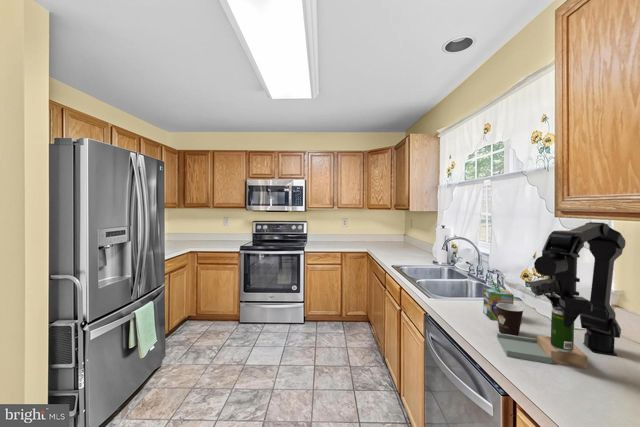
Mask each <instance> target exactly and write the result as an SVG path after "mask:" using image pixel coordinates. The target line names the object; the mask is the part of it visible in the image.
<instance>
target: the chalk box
mask: <svg viewBox="0 0 640 427" xmlns="http://www.w3.org/2000/svg"><path fill="white" fill-rule="evenodd" d="M493 286H494V287H493V288H492V287H491V288H490V287H488V288H487V287H484V288H483V308H482V309H483V310H482V311H483V312H482V313H484V315H486V317H487V318H488V319H489V320H492V321H498V319H497V318H496V316H495V315H494V313H493V311H492V305H496V304H499V303H506V304H512V305H514V302H515V300H514V298H515V297H514V294H513V293H511V292H510V291H509V290H507V289H505V288H500V285H499V284H498V283H497V282H495V281H494V282H493ZM493 310H494V312H495V314H496V315H497V307H496V306H494V308H493Z"/></svg>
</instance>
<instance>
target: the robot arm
mask: <svg viewBox="0 0 640 427" xmlns="http://www.w3.org/2000/svg"><path fill="white" fill-rule="evenodd" d="M585 243H587V244H588V245H589V246H588V248H589V252H590V254H591V255H592V257H593V258H594V263H593V272H592V280H591V289H590V290H591V291H590V297H589V298H590V299H586V298H585V297H584V296H580V292H579V291H578V290H577V283H581V280H580V279H581V278H580V277H577V276H578V275H577V274H578V273H577V272H578V270H577V269H578V258H580V257H581V256H580V254H579V253H580V252H581V250H582V249H583V248H584V247H585ZM625 247H626V239H625V237H624V236H623V235H622V233H621V232H619V231H617V230H615V229H614V228H612V227H610V226H609V224H608V223H605V222H597V221H596V222H595V221H593V222H591V221H590V222H586V223H584V225H583V224H582V225H581V226H578V227H575V228H572V229H571V230H553V231H551V233H550V234H549V235H548V237H547V239H546V241H545V243H544V246H543V248H542V250H541V256H539V257H536V259H535V261H534V263H533V266H534V269H535V271H536V272H537V273H538V274H540V275H541V276H544V277H547V278H544V279H543V278H542V279H537V280H534V281H533V280H532V281H530V282H528V285H529V287H530V290H531V292H532V293H533V294H534V295H535V296H537V297H538V296H539V297H542V296H545V298H547V300H549V301H550V304H551V307H552V309H553V307H560V308H561V309H562V312H563V320H564V326H565V327H568V328H569V327H570V326H571V325H572V324H573V322H574V323H575V321H576V320H577V318H578V317H579V322H580V325H581V329H584V330H586V332H585V333H583V334H584V336H583V337H584V338H583V345H584V347H586V348H587V349H588V350H590V351H591V352H593V353H598V354H603V355H604V354H606V355H610V356H611V355H612V356H618V354H617V352H615V338H617V339H621V334H622V328H621V326H620V325H619V323H618V320H617V319H616V312H615V311H614V308H613V307H612V306H611V304H610V303H611V295H612V284H613V275H614V266H615V265H614V264H615V261H617V259H618V258H619V257H620V256H621V255H622V254H623V251H624V249H625Z"/></svg>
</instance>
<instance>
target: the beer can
mask: <svg viewBox="0 0 640 427" xmlns="http://www.w3.org/2000/svg"><path fill="white" fill-rule="evenodd" d="M550 316H551V323H550V337H551V346H552V347H553V348H554V349H556V350H559V351H562V352H572V351H573V345H575V343H574V339H575V338H574V336H575V321H574V322H573V324H572V325H571V326H570V327H569V328H568V327H565V326H564V320H563V312H562V309H561V308H560V307H553V308H552V309H551V315H550Z"/></svg>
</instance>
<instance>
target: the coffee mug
mask: <svg viewBox="0 0 640 427" xmlns="http://www.w3.org/2000/svg"><path fill="white" fill-rule="evenodd" d="M494 306H496V307H497V315H496V314H495V312H494V310H493V308H494ZM492 311H493V313H494V315H495V316H496V318H497V319H498V320H497V326H498V327H497V328H498V333H501V334H508V335H515V336H520V329H521V326H522V320H523V319H522V318H523V312H524V308H523V307H521V306H519V305H516V304H513V305H512V304H506V303H499V304H496V305H492Z"/></svg>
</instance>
